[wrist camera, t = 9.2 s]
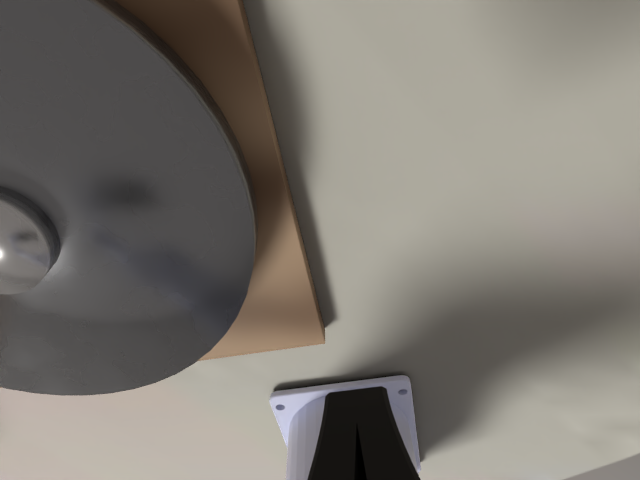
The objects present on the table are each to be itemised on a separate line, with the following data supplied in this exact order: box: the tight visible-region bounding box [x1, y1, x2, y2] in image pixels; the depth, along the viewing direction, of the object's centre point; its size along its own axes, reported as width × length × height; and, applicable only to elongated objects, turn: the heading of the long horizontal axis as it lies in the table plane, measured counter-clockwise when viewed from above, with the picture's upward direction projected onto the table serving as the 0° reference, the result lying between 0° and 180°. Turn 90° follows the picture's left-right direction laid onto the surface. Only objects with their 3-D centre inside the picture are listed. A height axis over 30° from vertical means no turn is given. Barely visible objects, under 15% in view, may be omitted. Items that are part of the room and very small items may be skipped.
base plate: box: [0, 0, 325, 388], centre depth 19 cm, size 20×20×1 cm
